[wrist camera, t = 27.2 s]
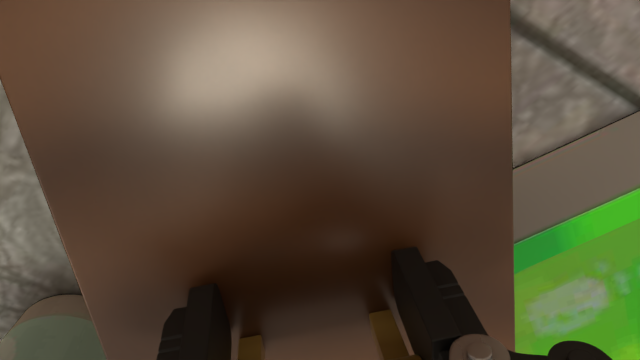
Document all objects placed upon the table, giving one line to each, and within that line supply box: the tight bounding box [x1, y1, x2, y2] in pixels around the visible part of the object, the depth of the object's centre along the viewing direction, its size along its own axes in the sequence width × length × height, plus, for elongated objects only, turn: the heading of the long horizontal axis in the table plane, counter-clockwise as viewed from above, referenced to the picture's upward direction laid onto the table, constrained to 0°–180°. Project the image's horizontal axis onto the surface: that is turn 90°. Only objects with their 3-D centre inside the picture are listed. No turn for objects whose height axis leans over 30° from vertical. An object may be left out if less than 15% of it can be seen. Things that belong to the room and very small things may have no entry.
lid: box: [0, 0, 515, 360], centre depth 12 cm, size 16×13×5 cm
